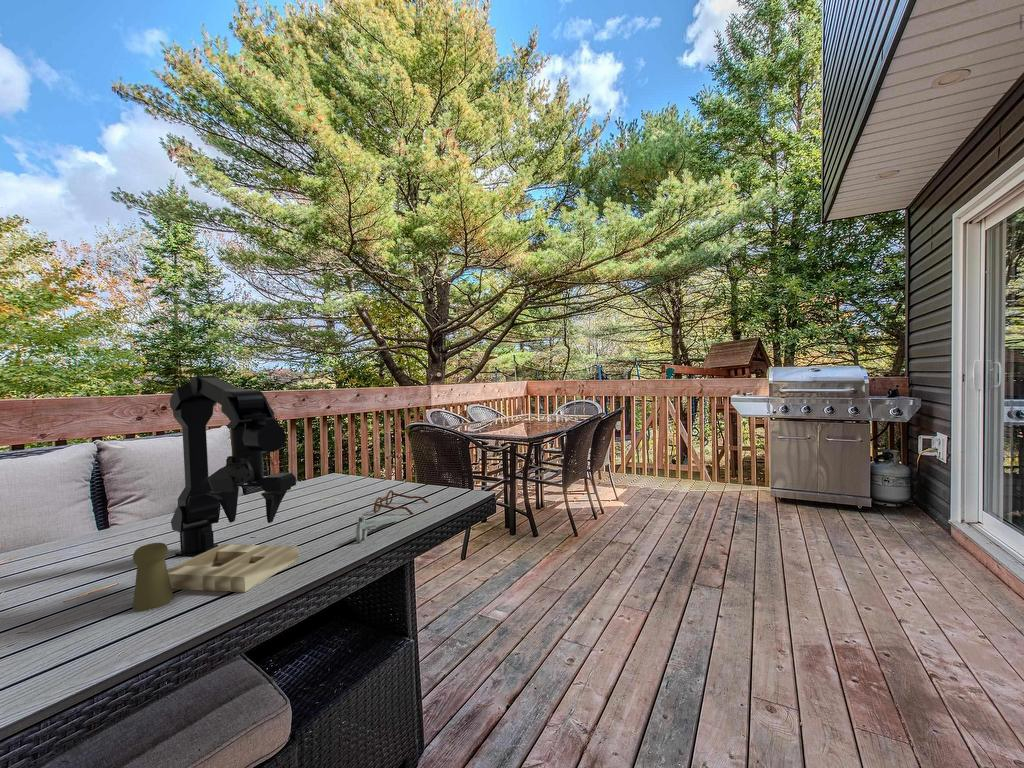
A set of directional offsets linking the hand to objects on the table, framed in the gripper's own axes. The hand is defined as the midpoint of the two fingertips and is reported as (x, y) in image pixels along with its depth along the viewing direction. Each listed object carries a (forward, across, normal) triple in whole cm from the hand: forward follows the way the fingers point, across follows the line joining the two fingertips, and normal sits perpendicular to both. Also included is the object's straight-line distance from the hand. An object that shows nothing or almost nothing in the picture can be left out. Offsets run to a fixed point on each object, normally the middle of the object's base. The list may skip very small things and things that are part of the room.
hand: (251, 522), depth 97 cm
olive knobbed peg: (+11, -10, -14) cm, 20 cm away
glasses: (+12, +12, +49) cm, 52 cm away
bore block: (+11, -5, 0) cm, 12 cm away
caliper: (+12, +15, +29) cm, 34 cm away
